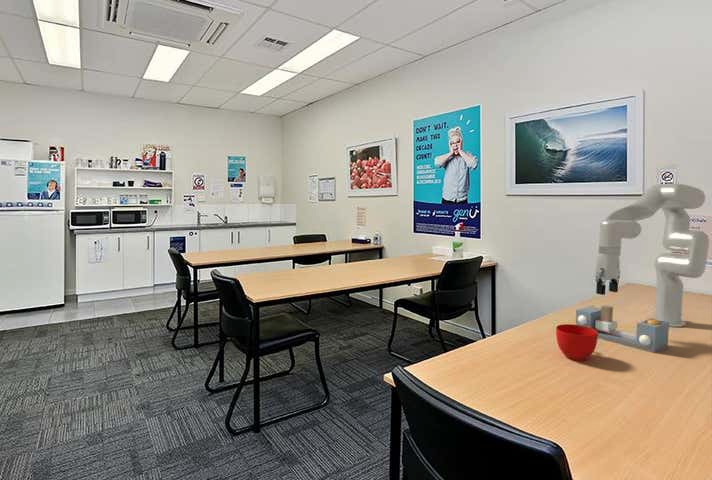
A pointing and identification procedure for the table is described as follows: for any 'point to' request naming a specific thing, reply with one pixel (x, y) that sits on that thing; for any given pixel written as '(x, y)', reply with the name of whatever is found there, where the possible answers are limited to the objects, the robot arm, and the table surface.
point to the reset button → (653, 321)
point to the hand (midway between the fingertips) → (606, 292)
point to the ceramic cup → (576, 341)
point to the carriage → (606, 320)
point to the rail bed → (645, 338)
